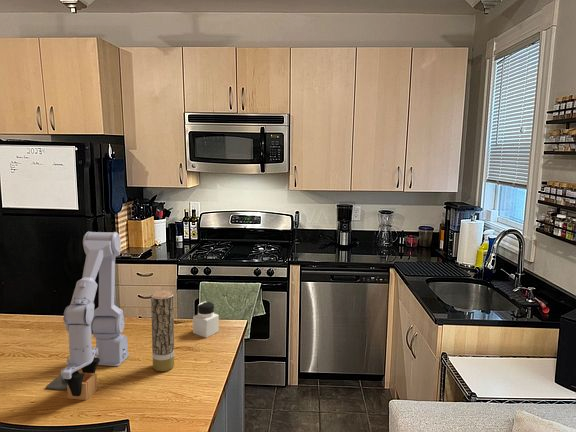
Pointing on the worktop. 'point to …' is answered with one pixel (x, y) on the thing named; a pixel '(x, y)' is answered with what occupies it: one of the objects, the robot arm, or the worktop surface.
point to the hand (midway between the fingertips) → (82, 389)
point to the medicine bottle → (205, 320)
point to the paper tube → (162, 330)
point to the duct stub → (58, 383)
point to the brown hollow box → (85, 387)
